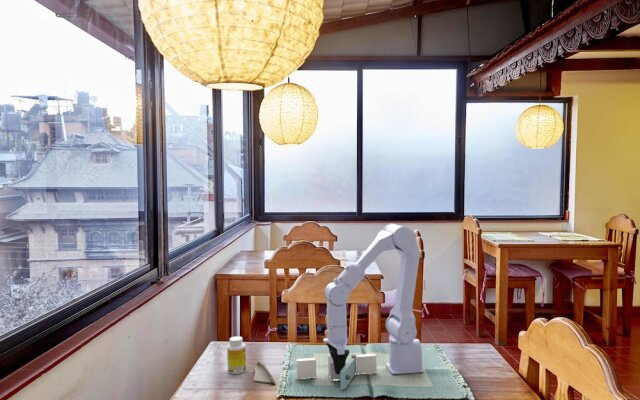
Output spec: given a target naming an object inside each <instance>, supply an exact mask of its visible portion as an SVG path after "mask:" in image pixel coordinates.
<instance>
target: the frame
mask: <svg viewBox="0 0 640 400" xmlns="http://www.w3.org/2000/svg"><path fill="white" fill-rule="evenodd" d="M350 356H351V358H355V373H356V375H357V374H358V373H359V374H362V373H375V372H377V355H376V353H366V354H355V353H354V354H351V355H350ZM356 371H357V372H356ZM377 373H378V372H377ZM308 377H316V378H317V360H316V357H308V358H296V380H297V379H299V380H302V379H301V378H308Z"/></svg>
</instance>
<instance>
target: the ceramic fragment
mask: <svg viewBox="0 0 640 400" xmlns="http://www.w3.org/2000/svg"><path fill="white" fill-rule="evenodd" d="M253 371H254V377H253V379H252V381H253V382H255V383H263V384H269V385H274V386H276V381H275V379H274V378H273V376H272V374H271V372H270V371H269V369H268V368H267V366H266V365H265V364H264V363H263V362H261V361H257V363H256V365H255V367H254V368H253Z"/></svg>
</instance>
